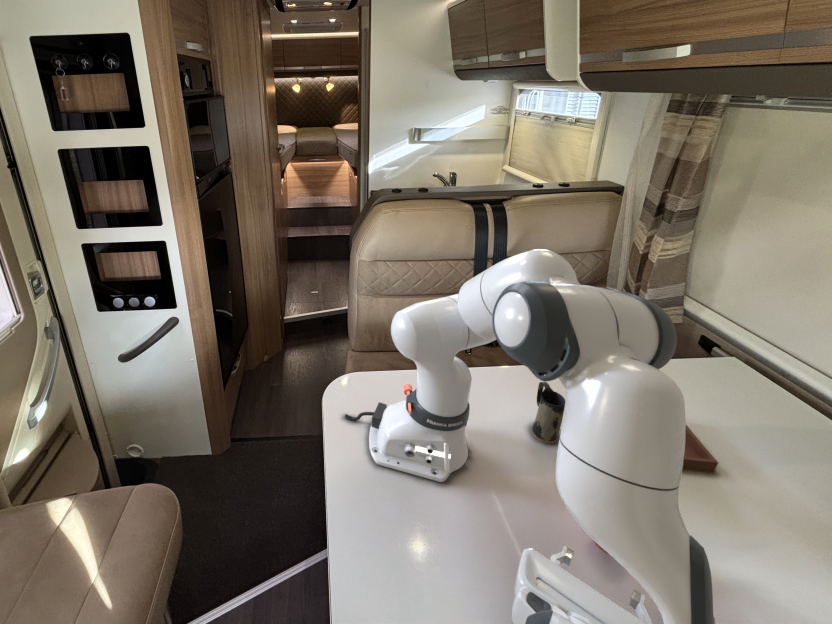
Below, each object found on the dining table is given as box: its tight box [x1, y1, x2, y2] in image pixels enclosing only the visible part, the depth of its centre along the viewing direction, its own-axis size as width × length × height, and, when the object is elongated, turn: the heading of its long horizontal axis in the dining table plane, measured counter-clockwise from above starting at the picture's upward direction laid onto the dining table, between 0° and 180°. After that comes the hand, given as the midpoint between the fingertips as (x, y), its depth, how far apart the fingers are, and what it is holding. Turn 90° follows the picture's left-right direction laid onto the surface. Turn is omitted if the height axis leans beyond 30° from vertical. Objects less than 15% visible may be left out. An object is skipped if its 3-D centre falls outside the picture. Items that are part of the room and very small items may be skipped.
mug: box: [531, 381, 566, 444], centre depth 100 cm, size 8×6×12 cm
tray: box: [682, 424, 719, 474], centre depth 99 cm, size 18×15×3 cm
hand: (601, 571), depth 66 cm, fingers open, 8 cm apart
